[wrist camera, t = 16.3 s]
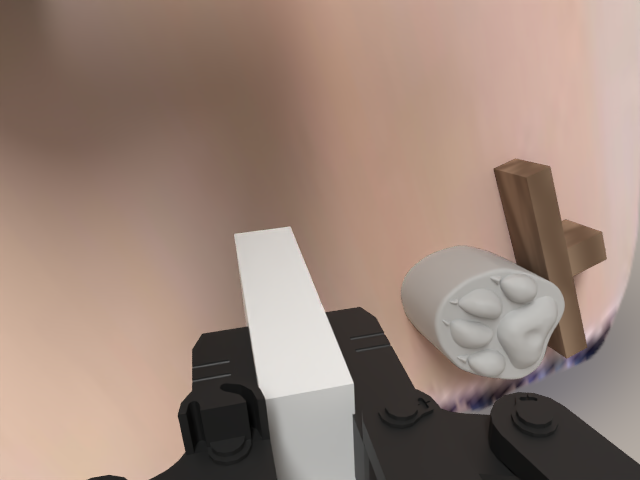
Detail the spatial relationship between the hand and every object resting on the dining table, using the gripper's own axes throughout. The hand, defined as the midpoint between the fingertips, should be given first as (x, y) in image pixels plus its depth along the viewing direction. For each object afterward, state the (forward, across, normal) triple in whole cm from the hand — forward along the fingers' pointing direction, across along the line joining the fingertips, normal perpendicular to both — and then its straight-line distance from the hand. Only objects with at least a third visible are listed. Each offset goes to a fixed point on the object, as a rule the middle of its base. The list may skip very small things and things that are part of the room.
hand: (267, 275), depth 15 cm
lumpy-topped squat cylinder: (+32, +21, -22) cm, 44 cm away
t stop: (+33, +31, -19) cm, 49 cm away
